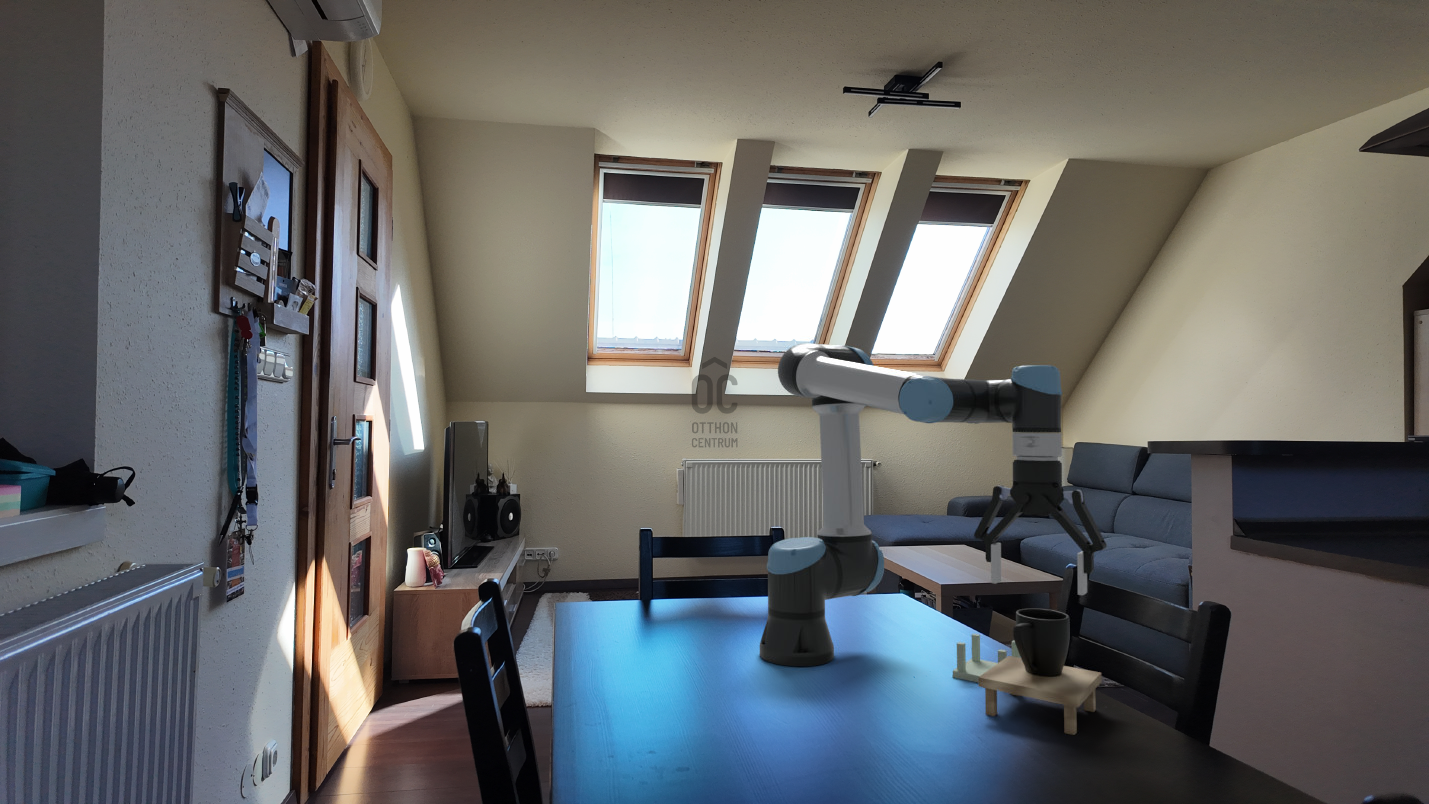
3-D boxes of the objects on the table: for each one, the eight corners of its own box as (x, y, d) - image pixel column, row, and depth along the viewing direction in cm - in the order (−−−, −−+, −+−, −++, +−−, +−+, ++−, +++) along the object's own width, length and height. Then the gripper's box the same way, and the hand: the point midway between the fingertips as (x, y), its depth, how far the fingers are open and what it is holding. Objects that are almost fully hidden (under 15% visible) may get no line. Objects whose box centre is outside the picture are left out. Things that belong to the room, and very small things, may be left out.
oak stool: (978, 714, 123) (978, 677, 123) (1009, 689, 135) (1008, 655, 135) (1078, 738, 114) (1077, 697, 114) (1102, 709, 125) (1101, 672, 126)
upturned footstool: (952, 677, 142) (952, 643, 142) (972, 664, 150) (971, 632, 150) (1007, 688, 136) (1006, 653, 136) (1024, 674, 143) (1024, 641, 144)
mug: (993, 674, 125) (992, 615, 125) (1034, 661, 132) (1033, 605, 132) (1039, 687, 118) (1038, 626, 119) (1080, 673, 125) (1079, 615, 126)
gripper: (954, 457, 131) (955, 581, 130) (1115, 462, 115) (1116, 603, 114) (970, 455, 137) (971, 574, 136) (1125, 460, 121) (1127, 594, 120)
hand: (1037, 587), depth 125 cm, fingers open, 13 cm apart
